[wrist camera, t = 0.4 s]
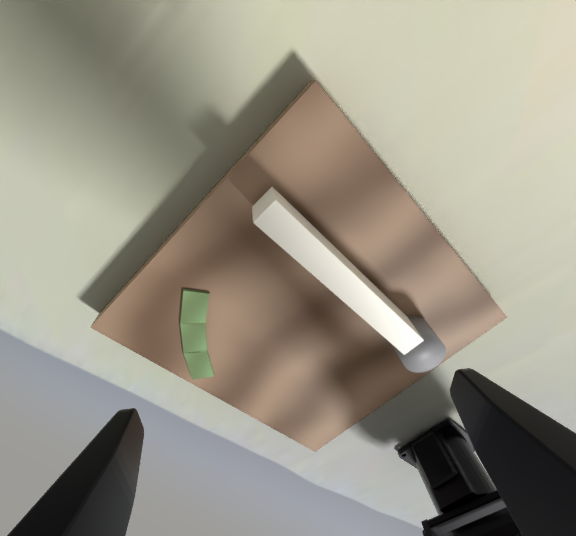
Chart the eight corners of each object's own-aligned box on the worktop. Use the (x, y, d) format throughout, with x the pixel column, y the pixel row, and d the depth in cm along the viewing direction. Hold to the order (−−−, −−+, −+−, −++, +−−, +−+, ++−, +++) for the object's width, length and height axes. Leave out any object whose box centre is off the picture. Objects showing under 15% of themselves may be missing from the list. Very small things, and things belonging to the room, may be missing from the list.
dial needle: (435, 330, 25) (455, 356, 23) (403, 354, 26) (420, 381, 24) (280, 175, 18) (286, 189, 16) (243, 214, 19) (243, 232, 17)
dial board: (494, 306, 27) (509, 318, 25) (312, 436, 32) (315, 453, 31) (310, 80, 18) (316, 80, 16) (99, 313, 23) (89, 329, 22)
